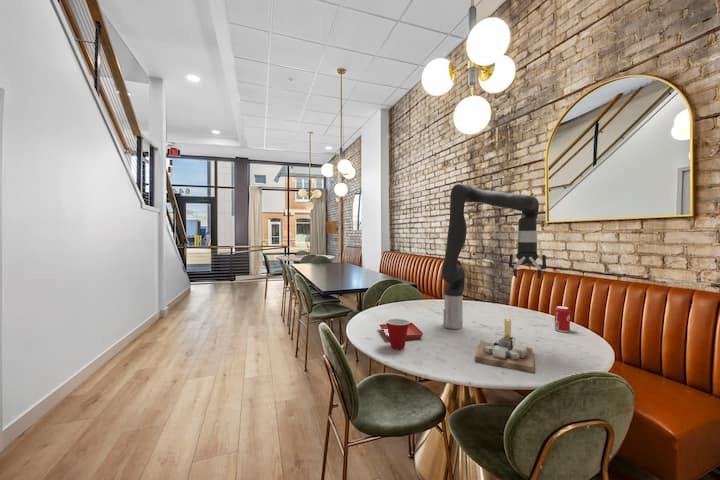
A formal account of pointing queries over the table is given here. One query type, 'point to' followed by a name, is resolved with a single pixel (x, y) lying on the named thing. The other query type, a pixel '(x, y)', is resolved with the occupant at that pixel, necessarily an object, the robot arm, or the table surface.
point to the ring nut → (504, 349)
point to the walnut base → (517, 364)
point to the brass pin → (507, 329)
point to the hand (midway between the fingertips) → (527, 277)
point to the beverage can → (562, 319)
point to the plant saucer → (411, 331)
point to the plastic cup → (397, 332)
